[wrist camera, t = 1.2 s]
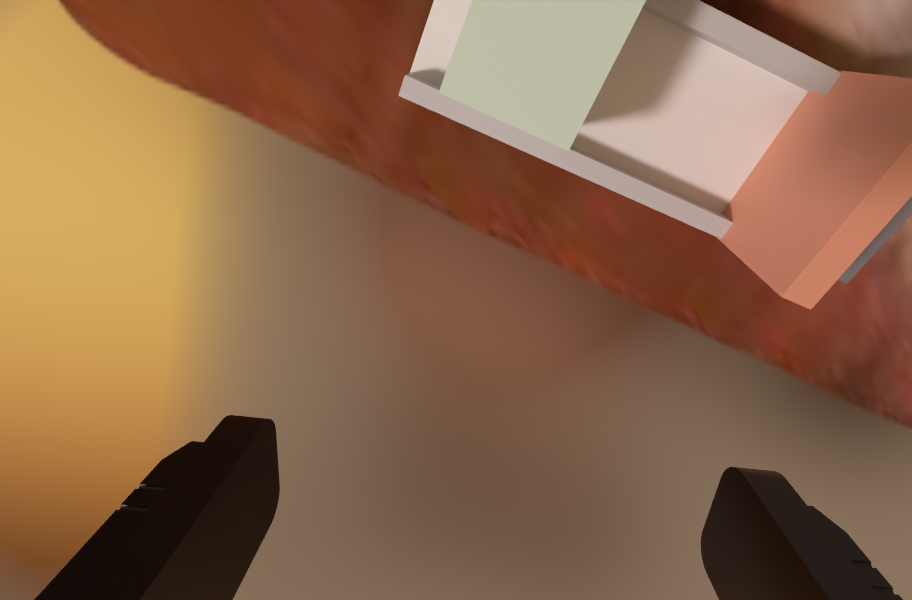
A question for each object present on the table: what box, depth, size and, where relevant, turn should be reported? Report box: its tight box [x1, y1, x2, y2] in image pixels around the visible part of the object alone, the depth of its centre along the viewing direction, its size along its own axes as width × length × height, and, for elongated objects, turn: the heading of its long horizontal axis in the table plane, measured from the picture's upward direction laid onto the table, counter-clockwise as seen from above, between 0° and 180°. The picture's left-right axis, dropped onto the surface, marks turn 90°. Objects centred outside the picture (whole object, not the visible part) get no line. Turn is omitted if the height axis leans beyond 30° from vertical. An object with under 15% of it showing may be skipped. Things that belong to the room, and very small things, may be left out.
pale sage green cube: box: [439, 0, 646, 151], centre depth 22 cm, size 6×6×5 cm
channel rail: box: [398, 0, 912, 310], centre depth 23 cm, size 24×9×10 cm, turn 68°
